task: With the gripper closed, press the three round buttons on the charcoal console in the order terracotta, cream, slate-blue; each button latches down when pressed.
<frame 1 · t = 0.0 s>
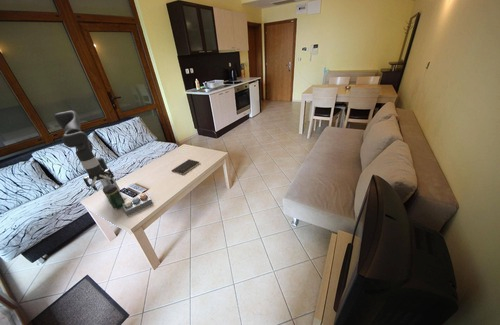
hand: (104, 186, 121), 29 cm above the table, fingers open, 8 cm apart
hardcover book: (186, 168, 192), on the table
button slate: (136, 200, 146), point 5 cm above the table, slide at 0.0 cm
button rust: (143, 197, 148), point 5 cm above the table, slide at 0.0 cm
console: (138, 205, 148), on the table
coffee jar: (119, 205, 150), on the table
button cream: (128, 204, 143), point 5 cm above the table, slide at 0.0 cm
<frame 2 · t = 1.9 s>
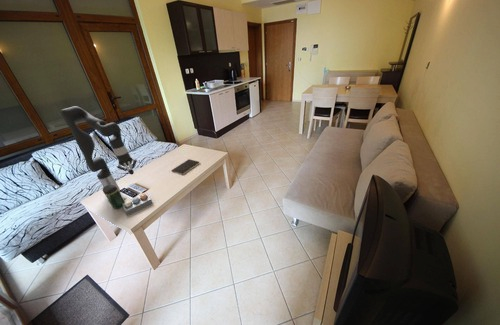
hand: (132, 173, 137), 27 cm above the table, fingers closed
nothing on the table moved.
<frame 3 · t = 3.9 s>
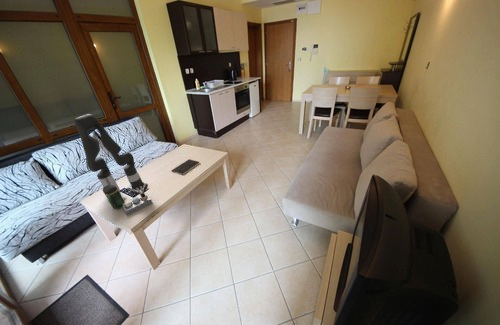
hand: (143, 196, 148), 5 cm above the table, fingers closed
button rust: (144, 198, 149), point 3 cm above the table, slide at -1.3 cm, touching gripper
everything else where it was.
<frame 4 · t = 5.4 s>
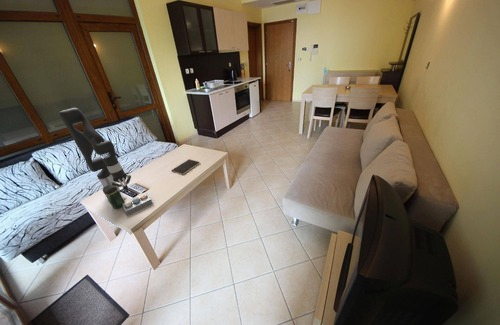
hand: (126, 189, 139), 17 cm above the table, fingers closed
button rust: (144, 198, 149), point 3 cm above the table, slide at -1.4 cm
everything else where it was.
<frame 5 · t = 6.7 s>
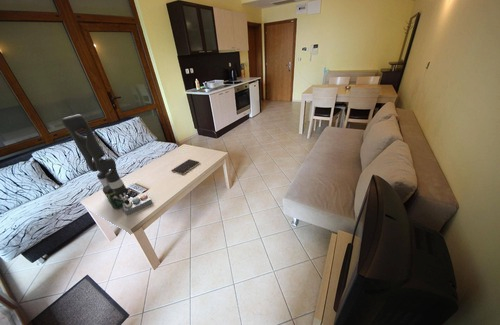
hand: (127, 203, 142), 6 cm above the table, fingers closed
button cream: (128, 205, 143), point 4 cm above the table, slide at -1.0 cm, touching gripper
everything else where it was.
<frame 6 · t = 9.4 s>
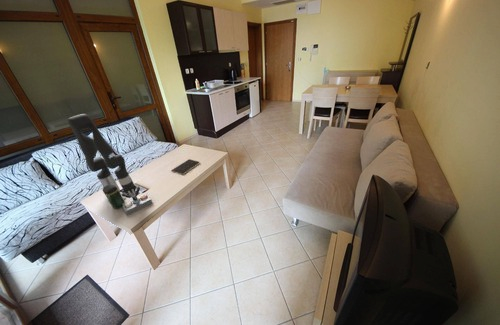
hand: (135, 200, 145), 6 cm above the table, fingers closed
button slate: (136, 201, 146), point 4 cm above the table, slide at -1.0 cm, touching gripper
button cream: (129, 206, 143), point 3 cm above the table, slide at -1.4 cm
everything else where it was.
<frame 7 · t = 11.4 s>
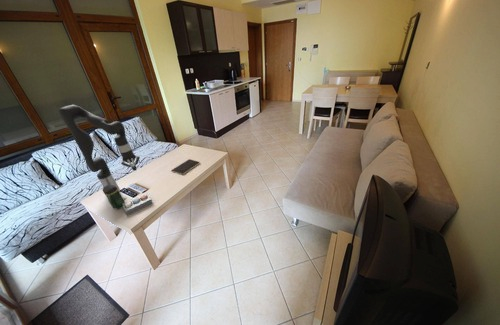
hand: (135, 170, 145), 25 cm above the table, fingers closed
button slate: (137, 202, 146), point 3 cm above the table, slide at -1.4 cm
everything else where it was.
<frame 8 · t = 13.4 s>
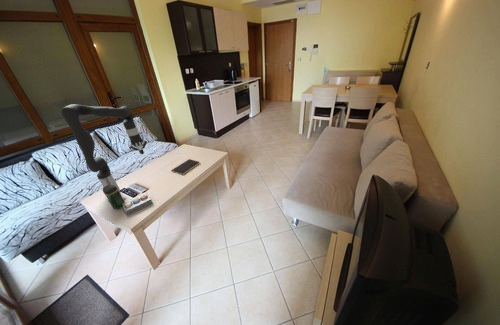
hand: (142, 153, 152), 32 cm above the table, fingers closed
nothing on the table moved.
at the end: button rust slide at -1.4 cm; button cream slide at -1.4 cm; button slate slide at -1.4 cm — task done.
